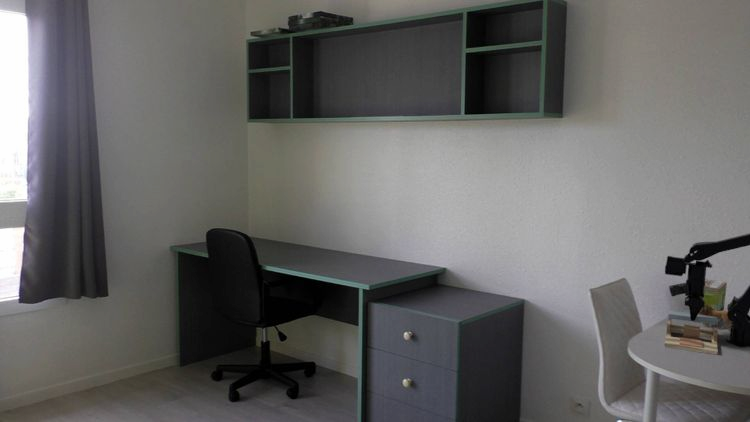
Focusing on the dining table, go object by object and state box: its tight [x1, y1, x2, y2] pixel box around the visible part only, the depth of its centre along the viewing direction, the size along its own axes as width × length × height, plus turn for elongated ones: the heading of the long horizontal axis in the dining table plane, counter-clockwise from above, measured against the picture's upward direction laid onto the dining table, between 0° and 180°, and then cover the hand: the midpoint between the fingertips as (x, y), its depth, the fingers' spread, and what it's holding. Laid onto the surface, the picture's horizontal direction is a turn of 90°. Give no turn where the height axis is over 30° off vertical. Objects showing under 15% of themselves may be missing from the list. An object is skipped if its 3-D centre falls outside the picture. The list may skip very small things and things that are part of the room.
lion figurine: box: [698, 304, 733, 331], centre depth 243 cm, size 15×5×9 cm, turn 71°
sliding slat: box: [667, 310, 719, 326], centre depth 235 cm, size 5×16×2 cm, turn 63°
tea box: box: [703, 278, 727, 325], centre depth 253 cm, size 15×10×15 cm, turn 143°
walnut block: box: [682, 323, 701, 340], centre depth 228 cm, size 5×5×4 cm
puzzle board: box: [664, 317, 719, 356], centre depth 227 cm, size 26×16×5 cm, turn 153°
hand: (692, 320), depth 232 cm, fingers closed
